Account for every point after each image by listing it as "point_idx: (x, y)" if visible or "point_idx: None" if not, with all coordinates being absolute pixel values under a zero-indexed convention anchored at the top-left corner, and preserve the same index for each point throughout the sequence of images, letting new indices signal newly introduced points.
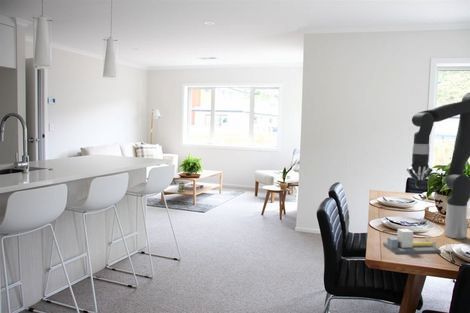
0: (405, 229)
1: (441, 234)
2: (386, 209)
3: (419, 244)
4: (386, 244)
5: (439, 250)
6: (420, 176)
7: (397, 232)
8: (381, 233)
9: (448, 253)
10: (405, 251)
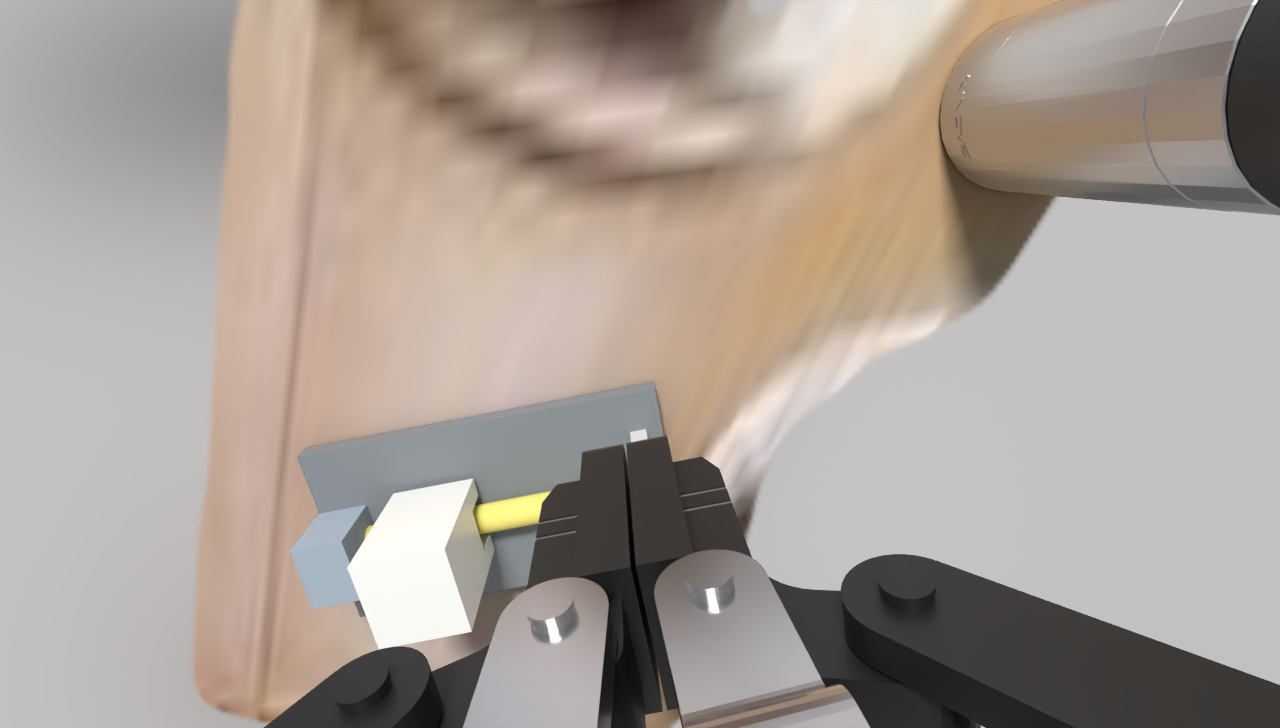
0: (418, 575)
1: (931, 47)
2: None
3: None
4: (317, 493)
5: None
6: (758, 681)
7: (360, 549)
8: (337, 85)
9: None
10: None
